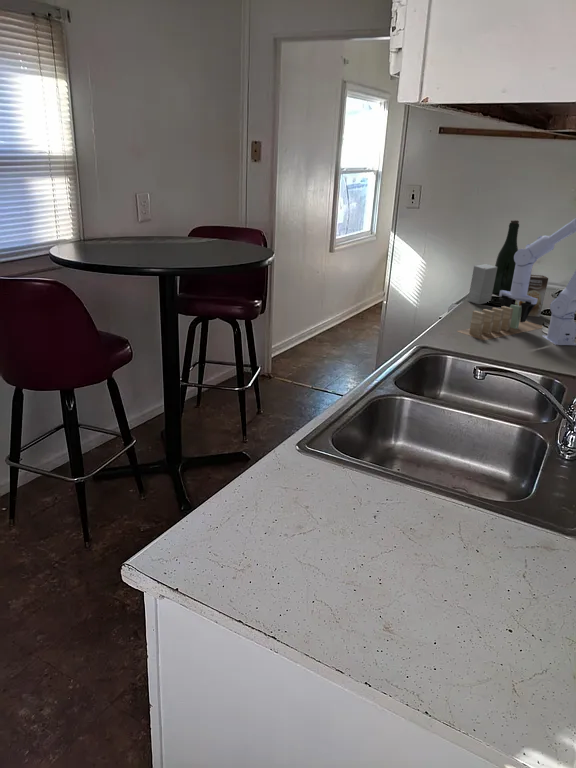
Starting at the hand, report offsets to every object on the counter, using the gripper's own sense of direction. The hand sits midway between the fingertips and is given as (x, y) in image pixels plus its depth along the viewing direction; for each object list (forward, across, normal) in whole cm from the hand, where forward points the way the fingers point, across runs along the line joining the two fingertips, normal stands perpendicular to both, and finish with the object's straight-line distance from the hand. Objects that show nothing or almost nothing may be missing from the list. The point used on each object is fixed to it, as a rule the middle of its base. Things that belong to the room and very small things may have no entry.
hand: (513, 319), depth 220 cm
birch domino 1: (+3, 0, +21) cm, 21 cm away
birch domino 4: (+3, 0, +5) cm, 6 cm away
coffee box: (+4, +10, -23) cm, 25 cm away
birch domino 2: (+3, 0, +16) cm, 16 cm away
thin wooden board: (+4, 0, +6) cm, 7 cm away
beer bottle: (+4, +41, -49) cm, 64 cm away
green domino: (+3, 0, 0) cm, 3 cm away
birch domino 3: (+3, 0, +10) cm, 11 cm away
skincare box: (+4, +34, -23) cm, 41 cm away
